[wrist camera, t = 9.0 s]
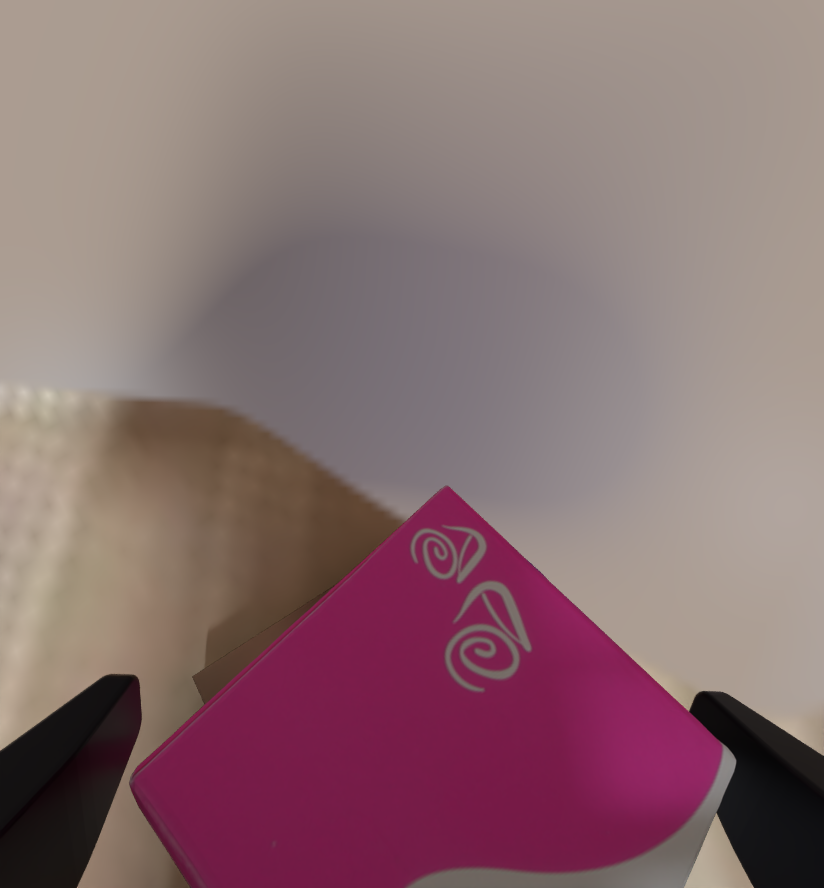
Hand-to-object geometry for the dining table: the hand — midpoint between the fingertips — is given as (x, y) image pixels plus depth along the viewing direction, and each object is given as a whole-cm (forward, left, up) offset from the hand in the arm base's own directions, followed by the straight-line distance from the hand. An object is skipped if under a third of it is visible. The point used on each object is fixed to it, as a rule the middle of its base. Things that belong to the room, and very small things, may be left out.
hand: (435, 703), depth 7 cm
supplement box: (-1, -1, -10) cm, 10 cm away
